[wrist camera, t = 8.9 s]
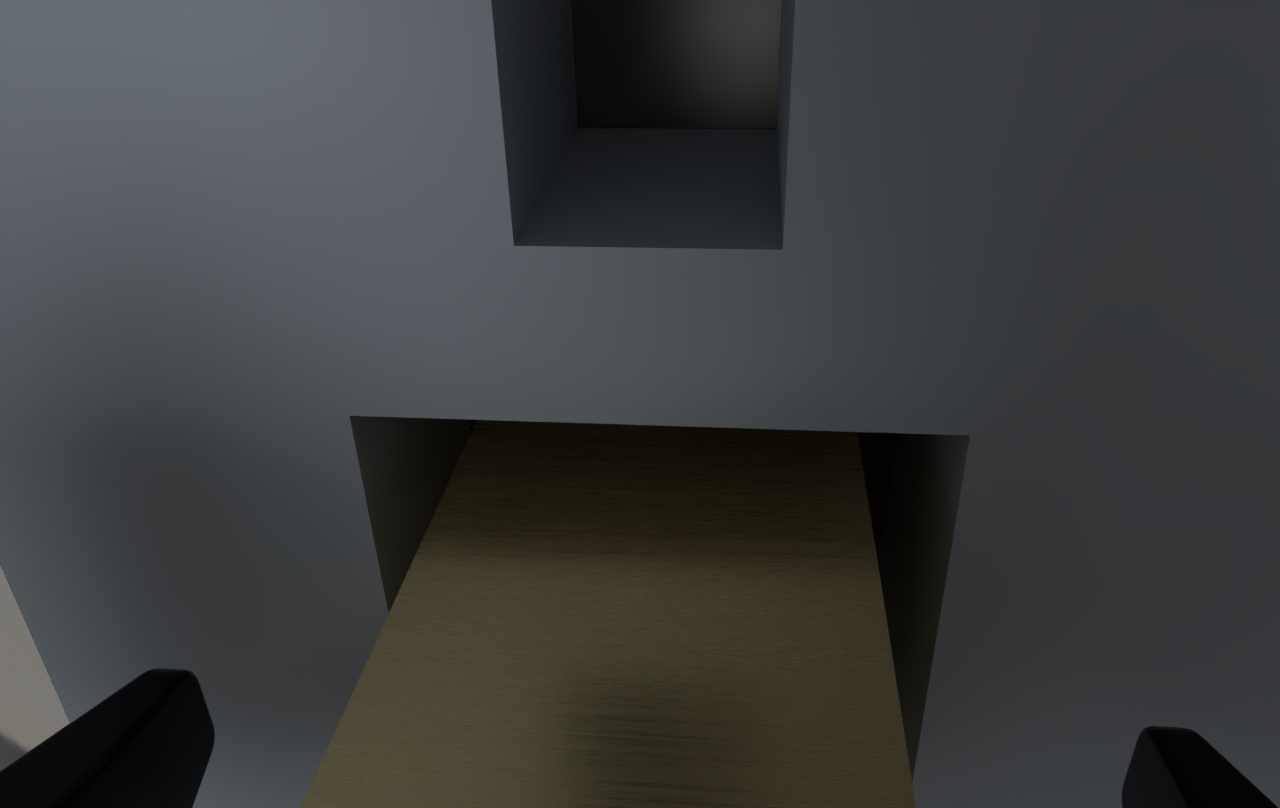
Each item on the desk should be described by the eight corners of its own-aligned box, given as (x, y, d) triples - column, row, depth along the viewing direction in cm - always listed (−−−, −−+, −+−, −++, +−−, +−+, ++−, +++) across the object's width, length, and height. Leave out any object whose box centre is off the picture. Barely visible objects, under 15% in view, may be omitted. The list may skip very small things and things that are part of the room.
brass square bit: (842, 332, 12) (976, 1207, 5) (822, 585, 14) (896, 1486, 7) (519, 326, 13) (155, 1126, 5) (543, 574, 15) (310, 1414, 7)
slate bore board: (1680, -878, 7) (2362, -1380, 4) (1148, 732, 15) (1244, 963, 12) (-176, -722, 8) (-691, -1006, 5) (248, 680, 17) (136, 875, 14)
